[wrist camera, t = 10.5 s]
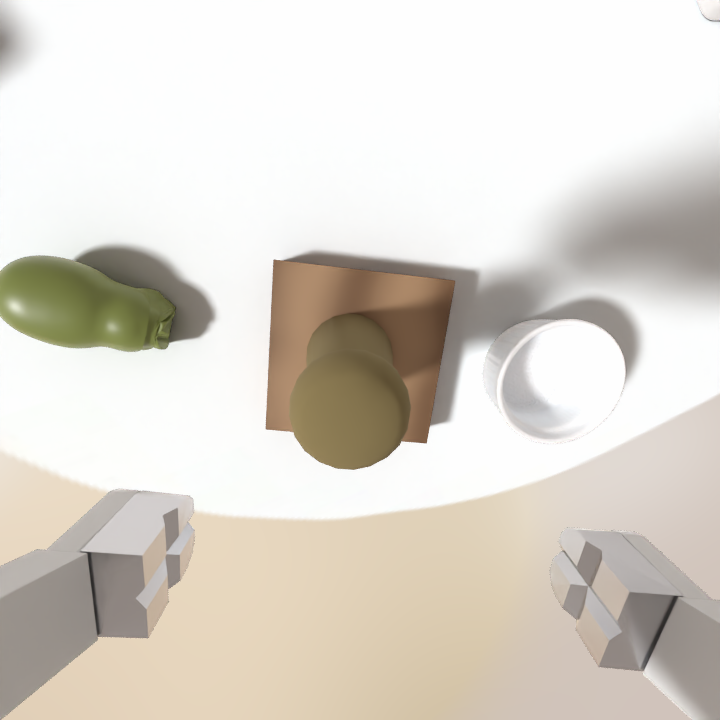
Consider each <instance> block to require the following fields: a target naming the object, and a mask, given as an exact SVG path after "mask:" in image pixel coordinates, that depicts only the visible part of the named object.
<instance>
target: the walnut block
mask: <svg viewBox="0 0 720 720" xmlns="http://www.w3.org/2000/svg"><path fill="white" fill-rule="evenodd" d="M454 285H455V281H453V280H445V279H436V278H428V277H419V276H410V275H402V274H393V273H384V272H376V271H367V270H359V269H350V268H341V267H333V266H324V265H316V264H307V263H298V262H290V261H281V260H274V263H273V284H272V305H271V327H270V348H269V369H268V391H267V412H266V429H267V430H278V431H290V432H293V429H292V425H291V422H290V417H289V406H290V395H291V393H292V391H293V388H294V386H295V383H296V381H297V379H298V377H299V375H300V374H301V373H302V372H303V371H304V370H305V368H306V367H307V364H306V357H307V346H308V343H309V341H310V338H311V336H312V334H313V332H314V331H315V330H316V329H317V328H318V327H319V326H320V325H321V323H323V322H325V321H326V320H328V319H330V318H332V317H333V316H338V315H342V314H347V313H348V314H357V315H362V316H365V317H367V318H369V319H371V320H374V321H375V322H376V323H377V324H378V325H379V326H380V327H381V328H383V329H384V331H385V333H386V334H387V336H388V338H389V340H390V342H391V347H392V352H393V367H394V368H395V369H396V370H397V371H398V373H399V375H400V377H401V378H402V380H403V382H404V384H405V385H406V387H407V389H408V393H409V399H410V404H411V411H410V417H409V424H408V430H407V432H406V433H405V435H404V437H403V439H402V441H405V442H416V443H427V438H428V433H429V427H430V421H431V416H432V410H433V404H434V399H435V393H436V387H437V382H438V376H439V370H440V365H441V359H442V353H443V348H444V342H445V336H446V331H447V325H448V319H449V314H450V308H451V302H452V297H453V291H454Z"/></svg>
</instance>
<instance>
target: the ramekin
mask: <svg viewBox="0 0 720 720" xmlns="http://www.w3.org/2000/svg"><path fill="white" fill-rule="evenodd" d="M482 375H483V383H484V387H485V390H486V393H487V395H488V397H489V399H490V400H491V401H492V403H493V404H494V405H495V406H496V408H497V409H498V410H499V412H500V414H501V415H502V417H503V419H504V420H505V422H506V423H507V424H508V426H509V427H510V428H511V429H512V430H514V431H515V432H516V433H517V434H519V435H520V436H522V437H524V438H526V439H528V440H531V441H534V442H538V443H544V444H558V443H565V442H568V441H572V440H575V439H578V438H580V437H582V436H584V435H586V434H588V433H589V432H591V431H592V430H594V429H595V428H597V427H598V426H599V425H600V424H601V423H602V422H604V420H605V419H606V418H607V417H608V416H609V415H610V414H611V412H612V411H613V410H614V408H615V406H616V405H617V403H618V401H619V399H620V397H621V394H622V392H623V389H624V384H625V378H626V366H625V359H624V356H623V353H622V351H621V349H620V347H619V344H618V343H617V342H616V341H615V339H614V338H613V337H612V336H611V335H610V334H609V333H608V332H607V331H606V330H604V329H603V328H601V327H600V326H598V325H596V324H593V323H591V322H588V321H584V320H578V319H560V320H546V319H541V320H530V321H524V322H521V323H518V324H516V325H514V326H512V327H510V328H509V329H507V330H506V331H504V332H503V333H502V334H501V335H500V336H499V337H498V338H497V339H496V340H495V341H494V342H493V344H492V345H491V347H490V348H489V350H488V352H487V355H486V357H485V360H484V364H483V371H482Z"/></svg>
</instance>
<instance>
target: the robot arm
mask: <svg viewBox="0 0 720 720" xmlns="http://www.w3.org/2000/svg"><path fill="white" fill-rule="evenodd" d="M697 2H698V5H699V8H700V10H701V12H702V14H703V15H704V16H705V17H706V18H707V19H709V20H715V21H718V20H720V0H697ZM193 513H194V503H193V498H192V497H190V496H188V495H179V494H169V493H160V492H151V491H138V490H128V489H115V490H112V491H110V492H109V493H108V494H107V495H106V496H104V497H103V498H102V499H101V500H100V501H99V502H98V503H97V504H96V505H95V506H93V507H92V509H90V510H89V511H88V512H87V513H86V514H85V515H84V516H83V517H81V518H80V519H79V520H78V521H77V522H76V523H75V524H74V525H73V526H72V527H71V528H69V530H67V531H66V532H65V533H64V534H63V535H62V536H61V537H60V538H59V539H57V541H55V542H54V543H53V544H52V545H51V546H50V547H49V548H48V549H47V550H40V549H37V550H34V551H33V552H30V553H28V554H26V555H23V556H21V557H19V558H17V559H15V560H12V561H11V562H8V563H6V564H4V565H1V566H0V720H1V719H2V718H4V717H5V716H6V715H7V714H9V713H10V712H11V711H12V710H13V709H15V708H16V707H17V706H18V705H19V704H21V703H22V702H23V701H24V700H25V699H27V698H28V697H29V696H30V695H32V694H33V693H34V692H35V691H36V690H38V689H39V688H40V687H41V686H42V685H44V684H45V683H46V682H47V681H48V680H50V679H51V678H52V677H53V676H55V675H56V674H57V673H58V672H59V671H60V670H62V669H63V668H64V667H65V666H67V665H68V664H69V663H70V662H72V661H73V660H74V659H75V658H76V657H78V656H79V655H80V654H81V653H83V652H84V651H85V650H86V649H87V648H89V647H90V646H91V645H92V644H93V643H95V642H96V641H97V640H98V637H126V638H149V636H150V634H151V632H152V631H153V629H154V627H155V625H156V624H157V622H158V620H159V618H160V616H161V615H162V613H163V611H164V609H165V608H166V606H167V604H168V602H169V601H168V589H169V588H171V587H172V586H173V585H175V584H176V583H178V582H179V581H180V580H181V578H182V576H183V575H184V572H185V571H186V569H187V567H188V564H189V561H190V558H191V555H192V552H193V546H194V529H193V528H192V526H191V525H190V524H189V523H188V521H189V519H190V518H191V516H192V515H193ZM559 544H560V546H561V548H562V551H561V552H560V553H559V554H558V555H556V556H555V557H554V558H553V560H552V564H551V568H550V578H551V585H552V588H553V591H554V594H555V596H556V598H557V600H558V601H559V603H560V605H561V606H562V608H563V609H564V610H566V611H567V612H568V613H569V614H571V615H572V616H573V617H574V618H575V619H576V631H577V633H578V634H579V636H580V638H581V639H582V641H583V642H584V644H585V646H586V647H587V649H588V651H589V652H590V654H591V656H592V657H593V659H594V660H595V662H596V663H597V665H598V667H604V668H615V669H625V670H635V671H644V672H643V675H644V676H645V677H647V679H649V680H650V681H651V682H652V683H653V684H654V685H655V686H656V687H657V688H658V689H659V690H660V691H662V692H663V693H664V694H665V695H666V696H667V697H668V698H669V699H670V700H671V701H672V702H673V703H674V704H676V705H677V706H678V707H679V708H680V709H681V710H682V711H683V712H684V713H685V714H686V715H687V716H688V717H689V718H690V719H691V720H720V600H713V599H711V598H710V597H709V596H708V595H707V594H706V593H705V592H704V591H703V590H702V589H701V588H700V587H698V586H697V585H696V584H695V583H694V582H693V581H692V580H691V579H690V578H689V577H688V576H687V575H686V574H684V573H683V572H682V571H681V570H680V569H679V568H678V567H677V566H676V565H675V564H674V563H673V562H671V561H670V560H669V559H668V558H667V557H666V556H665V555H664V554H663V553H662V552H661V551H659V550H658V549H657V548H656V547H655V546H654V545H653V544H652V543H651V542H649V540H648V539H647V538H645V537H644V536H643V535H641V534H639V533H637V532H634V531H619V530H611V531H607V530H596V529H582V528H570V527H567V528H566V529H565V530H564V531H563V532H562V533H561V536H560V539H559Z"/></svg>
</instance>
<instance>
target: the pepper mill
mask: <svg viewBox="0 0 720 720" xmlns="http://www.w3.org/2000/svg"><path fill="white" fill-rule="evenodd" d="M306 364H307V367H306V368H305V370H304V371H303V372H302V373H301V374H300V375H299V377H298V379H297V381H296V383H295V386H294V388H293V391H292V393H291V395H290V406H289V417H290V422H291V425H292V429H293V432H294V435H295V437H296V439H297V440H298V442H299V443H300V445H301V446H302V448H303V449H304V450H305V451H306V452H307V453H308V454H310V455H311V456H312V457H314V458H315V459H316V460H317V461H319V462H321V463H324V464H326V465H329V466H332V467H334V468H338V469H351V470H354V469H359V468H364V467H369V466H372V465H373V464H375V463H377V462H379V461H381V460H383V459H385V458H387V457H388V456H389V455H390V454H391V453H392V452H393V451H394V450H395V449H396V448H397V447H398V446H399V445H400V443H401V441H402V439H403V437H404V435H405V433H406V432H407V430H408V424H409V417H410V411H411V404H410V399H409V393H408V389H407V387H406V385H405V384H404V382H403V380H402V378H401V377H400V375H399V373H398V371H397V370H396V369H395V368H394V367H393V352H392V347H391V342H390V340H389V338H388V336H387V334H386V333H385V331H384V329H383V328H381V327H380V326H379V325H378V324H377V323H376V322H375V321H374V320H371V319H369V318H367V317H365V316H362V315H357V314H348V313H347V314H342V315H338V316H333V317H332V318H330V319H328V320H326V321H325V322H323V323H321V325H320V326H319V327H318V328H317V329H316V330H315V331H314V332H313V334H312V336H311V338H310V341H309V343H308V346H307V357H306Z"/></svg>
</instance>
